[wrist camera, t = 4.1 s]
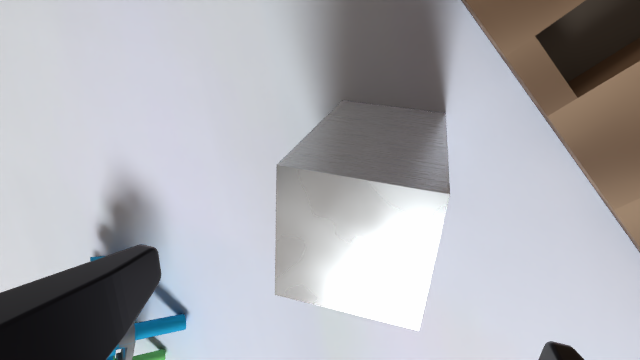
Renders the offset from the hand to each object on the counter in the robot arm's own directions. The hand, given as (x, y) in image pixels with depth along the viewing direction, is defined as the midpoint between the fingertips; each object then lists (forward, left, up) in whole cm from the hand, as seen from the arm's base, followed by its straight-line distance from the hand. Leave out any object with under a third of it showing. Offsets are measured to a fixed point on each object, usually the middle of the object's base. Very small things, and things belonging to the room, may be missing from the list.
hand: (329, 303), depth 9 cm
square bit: (0, 0, -10) cm, 10 cm away
